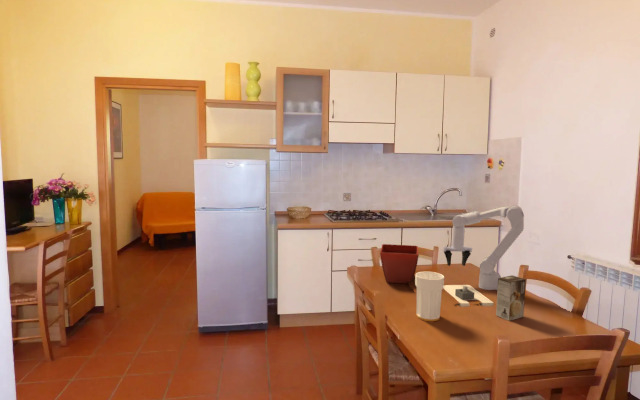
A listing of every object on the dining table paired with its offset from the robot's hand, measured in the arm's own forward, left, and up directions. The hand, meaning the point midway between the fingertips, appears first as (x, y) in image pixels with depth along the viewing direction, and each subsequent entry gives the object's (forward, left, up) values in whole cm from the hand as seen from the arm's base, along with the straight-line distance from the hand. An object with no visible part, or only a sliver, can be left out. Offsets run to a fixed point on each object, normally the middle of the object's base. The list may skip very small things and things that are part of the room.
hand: (456, 265), depth 198 cm
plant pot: (+27, -10, -11) cm, 30 cm away
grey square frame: (+5, +21, -9) cm, 23 cm away
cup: (+28, +38, -11) cm, 48 cm away
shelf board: (+2, +16, -10) cm, 19 cm away
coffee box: (-6, +39, -11) cm, 41 cm away
